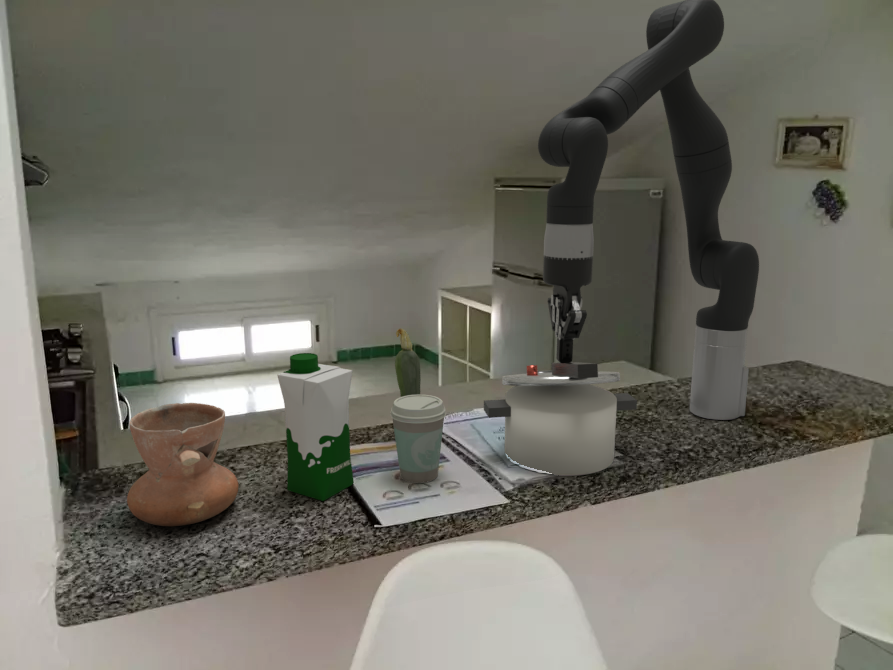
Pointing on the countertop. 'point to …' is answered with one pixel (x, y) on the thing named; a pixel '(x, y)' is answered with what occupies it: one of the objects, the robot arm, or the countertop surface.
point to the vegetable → (407, 367)
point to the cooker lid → (562, 375)
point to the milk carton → (317, 426)
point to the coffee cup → (418, 436)
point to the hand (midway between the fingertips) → (564, 361)
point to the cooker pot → (560, 426)
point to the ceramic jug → (180, 465)
